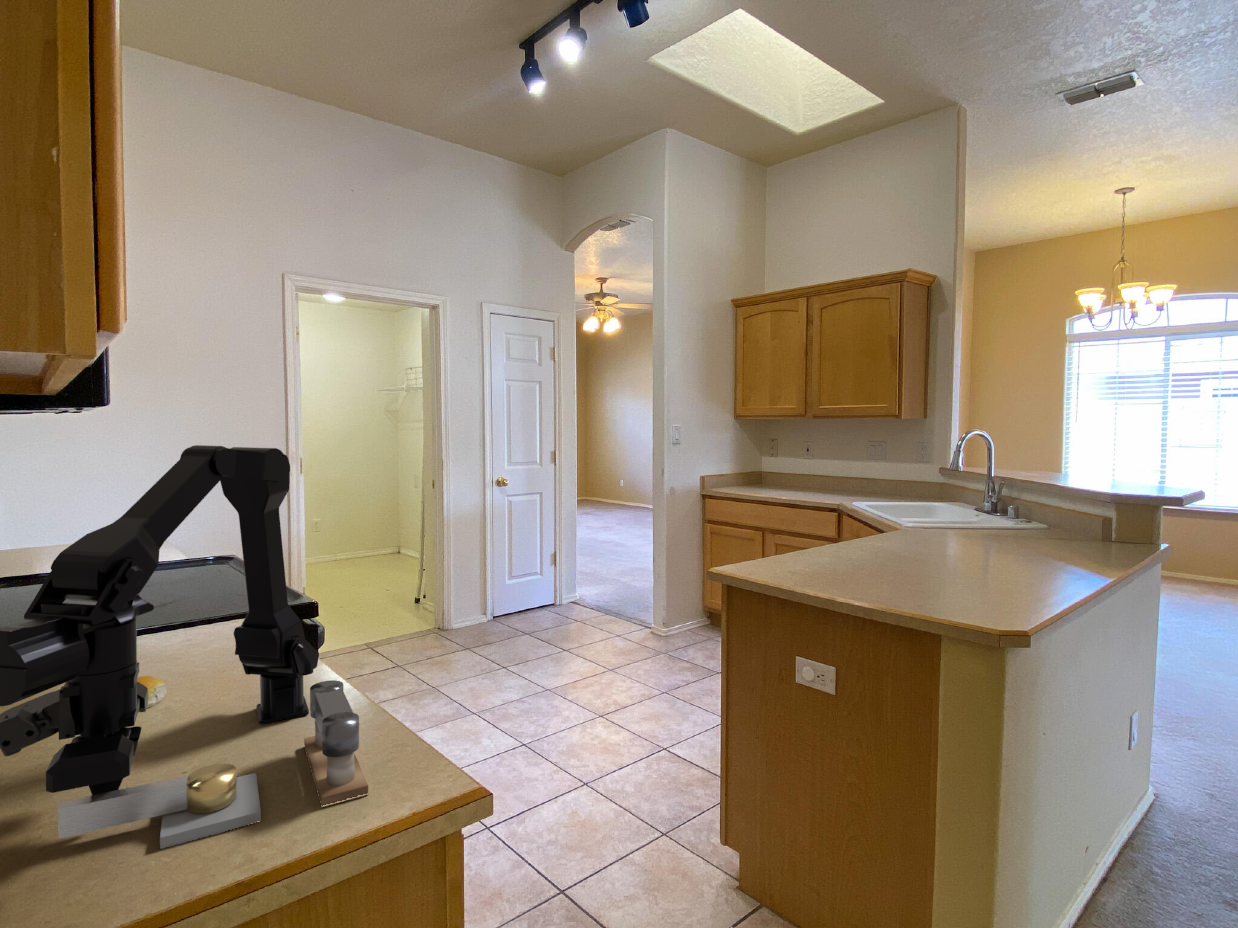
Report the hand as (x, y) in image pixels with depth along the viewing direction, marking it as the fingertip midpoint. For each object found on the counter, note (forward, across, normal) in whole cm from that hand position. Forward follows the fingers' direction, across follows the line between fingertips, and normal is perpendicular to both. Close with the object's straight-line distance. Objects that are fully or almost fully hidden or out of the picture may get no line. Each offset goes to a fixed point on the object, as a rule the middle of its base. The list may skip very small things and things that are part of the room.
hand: (104, 807), depth 70 cm
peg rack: (+2, -1, +23) cm, 23 cm away
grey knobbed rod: (-4, -1, +23) cm, 23 cm away
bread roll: (+3, -36, -1) cm, 36 cm away
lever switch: (+1, +2, +4) cm, 5 cm away
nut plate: (+2, +2, +10) cm, 10 cm away
